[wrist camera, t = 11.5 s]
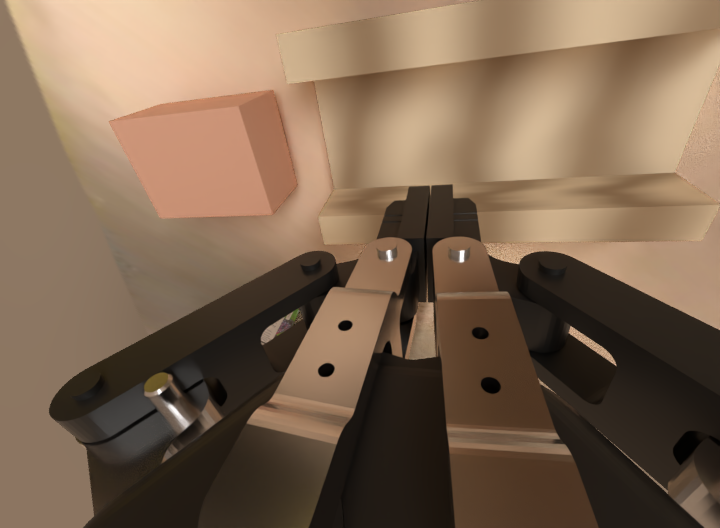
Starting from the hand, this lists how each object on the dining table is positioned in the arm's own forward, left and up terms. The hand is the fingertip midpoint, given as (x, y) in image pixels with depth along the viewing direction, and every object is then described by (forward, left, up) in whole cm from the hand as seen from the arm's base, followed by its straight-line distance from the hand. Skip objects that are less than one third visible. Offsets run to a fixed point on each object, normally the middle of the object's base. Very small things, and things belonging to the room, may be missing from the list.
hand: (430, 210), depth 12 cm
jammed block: (+13, 0, -10) cm, 17 cm away
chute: (-3, 0, -11) cm, 11 cm away
